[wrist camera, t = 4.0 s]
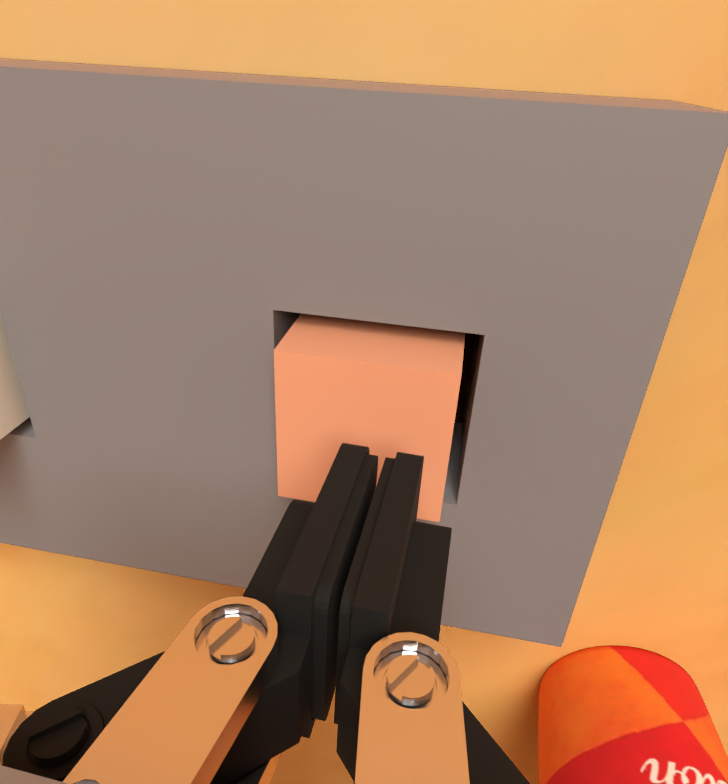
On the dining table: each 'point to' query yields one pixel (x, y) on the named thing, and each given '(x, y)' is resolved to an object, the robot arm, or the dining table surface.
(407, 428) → the peach square button
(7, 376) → the cream cube block
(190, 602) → the dining table surface
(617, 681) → the coffee cup
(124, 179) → the button panel
